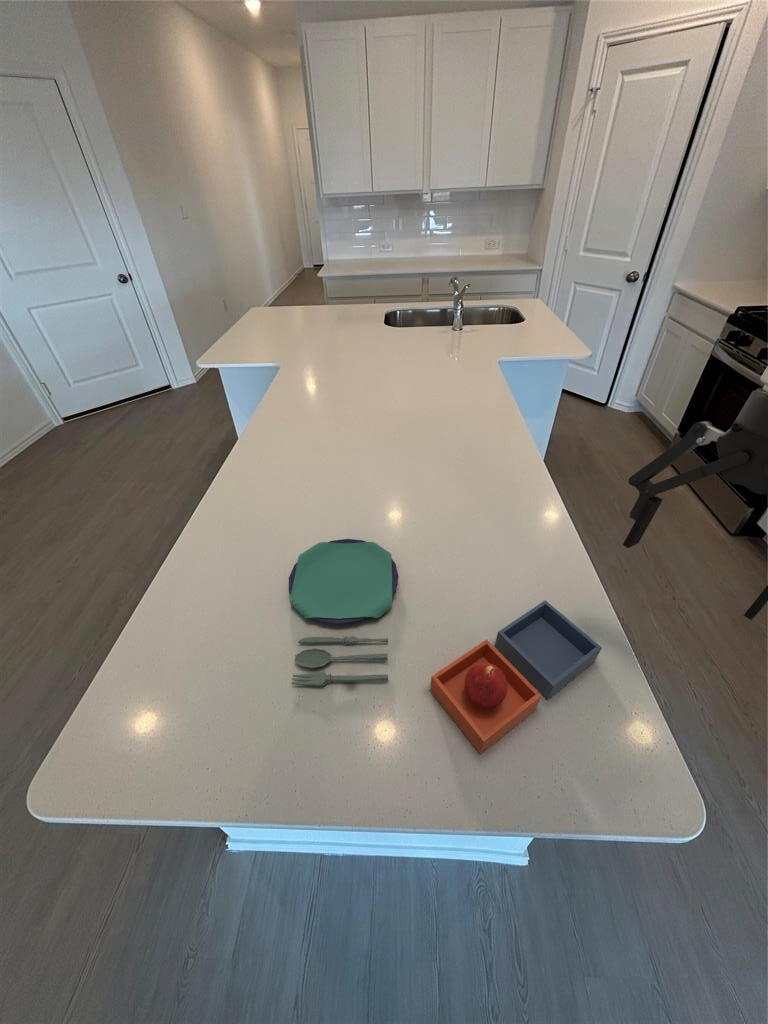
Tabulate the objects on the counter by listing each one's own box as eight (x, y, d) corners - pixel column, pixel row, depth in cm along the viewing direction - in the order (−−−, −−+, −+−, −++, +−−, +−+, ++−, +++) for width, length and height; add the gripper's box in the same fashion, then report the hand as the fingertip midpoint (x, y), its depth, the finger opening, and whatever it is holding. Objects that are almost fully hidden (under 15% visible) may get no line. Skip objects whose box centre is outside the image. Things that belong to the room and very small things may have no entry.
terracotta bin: (536, 709, 62) (542, 695, 60) (480, 754, 58) (483, 741, 55) (483, 653, 69) (486, 639, 66) (429, 690, 65) (431, 676, 62)
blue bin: (594, 662, 68) (602, 647, 65) (547, 700, 63) (553, 686, 61) (540, 614, 74) (545, 599, 72) (494, 646, 70) (497, 631, 67)
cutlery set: (397, 544, 88) (397, 536, 86) (401, 687, 65) (401, 679, 64) (298, 546, 88) (296, 537, 87) (268, 688, 65) (265, 681, 64)
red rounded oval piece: (500, 724, 60) (509, 695, 55) (458, 711, 62) (464, 682, 57) (505, 685, 64) (514, 656, 59) (466, 674, 66) (472, 644, 61)
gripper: (1006, 447, 34) (824, 637, 45) (682, 360, 50) (604, 515, 61) (1008, 459, 30) (806, 666, 41) (653, 359, 46) (575, 527, 57)
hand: (685, 576), depth 51 cm, fingers open, 13 cm apart
